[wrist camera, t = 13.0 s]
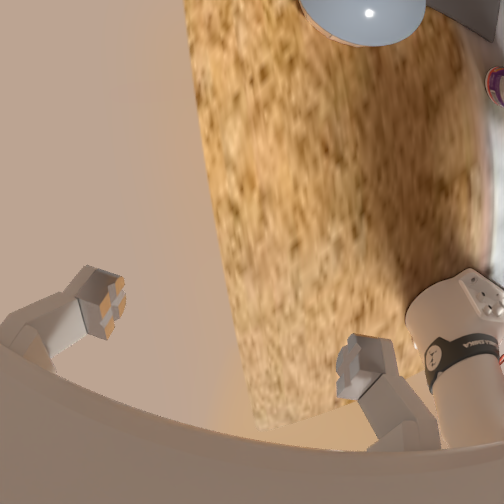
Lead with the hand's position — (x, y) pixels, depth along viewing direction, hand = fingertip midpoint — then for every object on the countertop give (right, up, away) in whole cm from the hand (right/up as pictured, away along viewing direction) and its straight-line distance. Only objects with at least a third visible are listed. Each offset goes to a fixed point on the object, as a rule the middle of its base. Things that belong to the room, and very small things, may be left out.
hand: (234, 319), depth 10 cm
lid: (+11, +27, +9) cm, 30 cm away
